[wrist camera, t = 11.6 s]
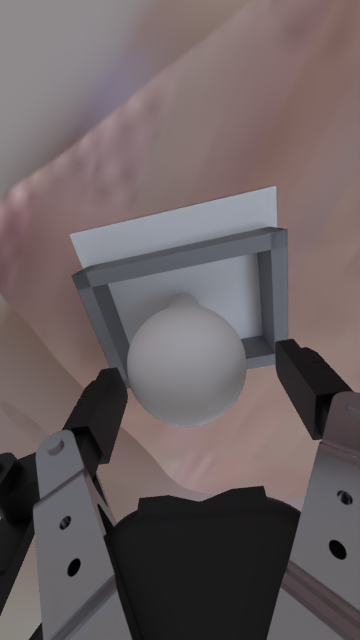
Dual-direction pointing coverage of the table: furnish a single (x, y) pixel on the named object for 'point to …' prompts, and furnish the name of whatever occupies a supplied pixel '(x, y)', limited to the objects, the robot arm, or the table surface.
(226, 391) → the lightbulb
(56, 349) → the table surface
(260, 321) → the grey flat square tray
